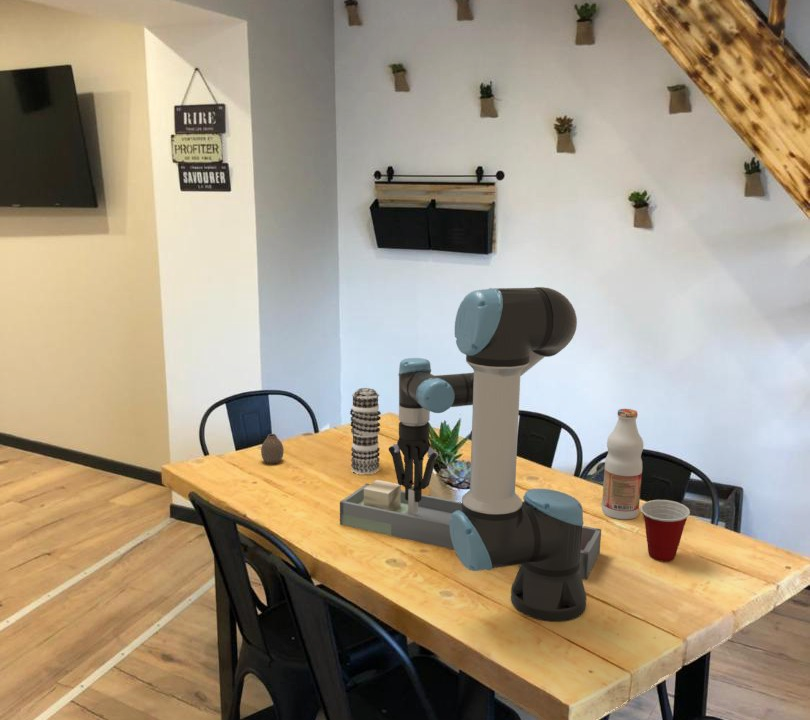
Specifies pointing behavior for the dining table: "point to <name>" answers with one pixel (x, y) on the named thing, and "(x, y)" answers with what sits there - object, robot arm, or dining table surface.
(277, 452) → the vase
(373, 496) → the beech block
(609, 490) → the fruit juice
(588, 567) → the tray
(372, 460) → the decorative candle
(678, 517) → the plastic cup
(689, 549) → the dining table surface
